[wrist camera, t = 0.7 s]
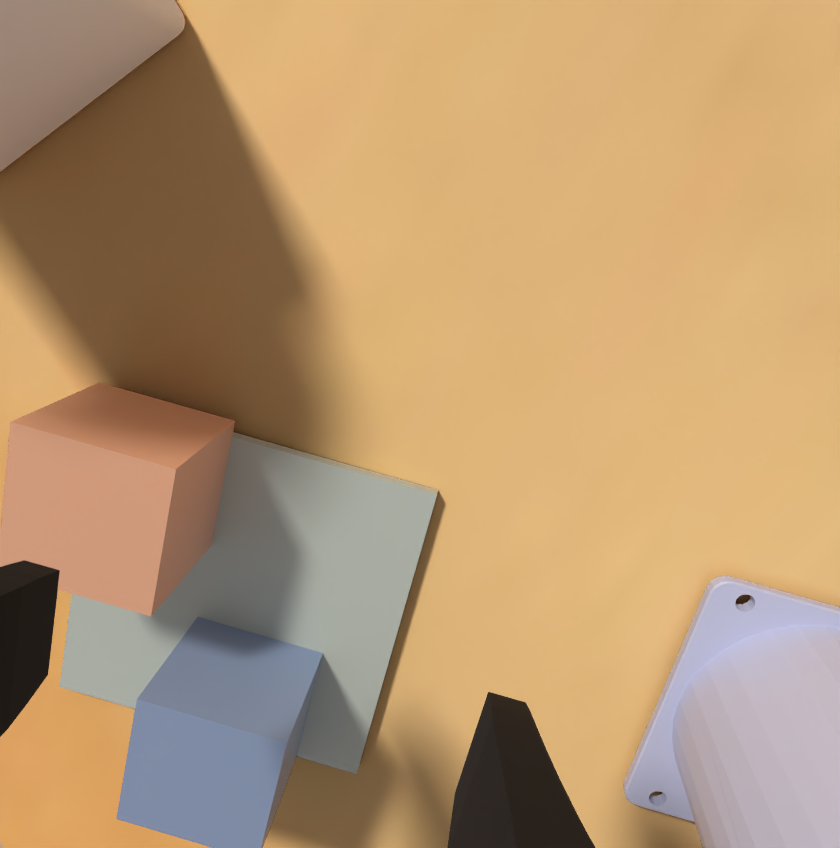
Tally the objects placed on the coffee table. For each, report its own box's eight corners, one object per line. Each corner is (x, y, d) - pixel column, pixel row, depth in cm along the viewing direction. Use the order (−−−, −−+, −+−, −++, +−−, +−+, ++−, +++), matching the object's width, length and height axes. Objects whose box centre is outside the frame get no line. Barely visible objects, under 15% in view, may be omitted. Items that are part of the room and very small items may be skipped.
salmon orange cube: (235, 421, 21) (176, 469, 17) (211, 545, 22) (151, 616, 18) (99, 382, 21) (10, 421, 17) (83, 508, 22) (-4, 571, 18)
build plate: (438, 489, 21) (437, 495, 21) (358, 765, 24) (356, 774, 24) (104, 395, 22) (97, 398, 21) (66, 679, 25) (59, 686, 24)
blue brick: (323, 653, 23) (286, 743, 19) (296, 756, 24) (257, 860, 20) (197, 616, 23) (137, 699, 19) (177, 721, 24) (116, 819, 20)
